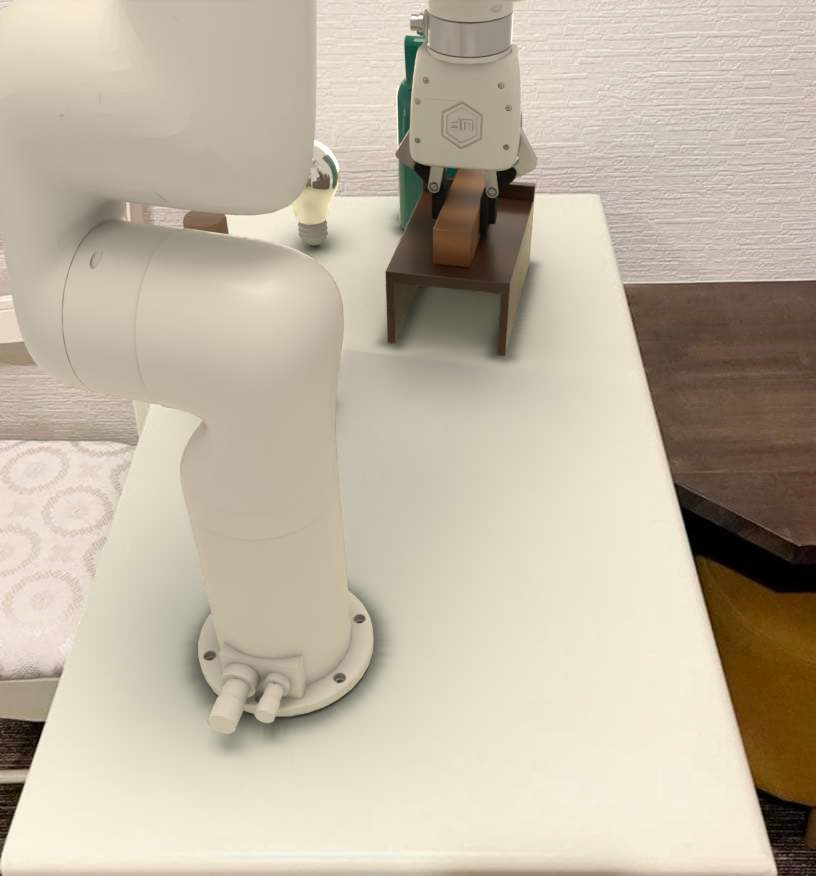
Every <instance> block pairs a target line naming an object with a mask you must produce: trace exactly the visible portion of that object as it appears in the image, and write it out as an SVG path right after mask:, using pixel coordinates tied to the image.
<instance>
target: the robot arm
mask: <svg viewBox="0 0 816 876" xmlns="http://www.w3.org/2000/svg"><path fill="white" fill-rule="evenodd" d="M529 1H530V0H426V9H425V10H424V11H423V12H419V13H411V14H410V19H409V28H410V29H409V30H410V31H411V32H416V31H419V33H423V37H425V42H424V43H423V44H422V45H421V46H420V47H419V48H418V51H417V55H416V60H415V67H414V75H413V85H412V97H411V115H410V129H409V131H408V133H407V134H406V136H405V137H404V139H403V141H402V142H401V144H400V146H399V147H398V146H397V150H396V151H395V158H396V159H397V160H398V159H399V160H400V161H401V162H403V163H404V164H406V165H407V166H409V167H410V168H413V169H414V171H415V172H416V173H417V174H418V175H419V176H420V177H421V179H422V180H423V181H424V182H425V183H426V184H427V185H428V189H429V191H430V192H432V219H438V217H439V214H440V212H441V209H442V207H443V205H444V203H445V201H446V198H447V196H448V193H449V191H450V183H449V180H447V178H446V177H445V175H446V169H447V168H458V169H471V170H483V171H484V180H485V187H484V190H483V193H482V196H481V199H480V231H479V234H481V235H482V236H486V235H487V232H488V229H489V226H490V224H495V223H496V219H497V205H498V193H499V192H500V191H502V190H503V189H504V188H505V187H506V186H508V185H509V184H510V183H511V182H512V181H515V179H517V178H519V177H522V176H524V175H527V174H528V173H530V172H533V171H534V170H536V168H537V164H538V160H539V159H538V157H537V155H536V153H535V151H534V149H533V146H532V144H531V143H530V141H529V138H528V137H527V135H526V133H525V131H524V129H523V76H522V66H521V56H520V50H519V47H518V45H516V44H515V43H513V29H514V15H515V13H514V12H515V3H522V2H523V3H524V2H529ZM317 9H318V0H12V1H11V2H10V3H9V4H8V5H7V6H6V7H5V8H4V9H3V10H2V12H1V14H0V238H1V243H2V249H3V255H4V260H5V266H6V271H7V279H8V284H9V289H10V293H11V294H10V295H11V299H12V305H13V310H14V314H15V319H16V322H17V326H18V329H19V333H20V336H21V338H22V341H23V343H24V346H25V349H26V350H27V353H29V355H30V358H31V359H32V360H33V362H34V363H35V364H36V365H37V367H38V368H39V369H40V370H41V371H42V372H43V373H44V374H45V375H46V376H48V377H50V378H51V379H52V380H54V381H56V382H58V383H60V384H62V385H64V386H68V387H71V388H73V389H77V390H81V391H84V392H89V393H94V394H99V395H105V396H110V397H115V398H120V399H126V400H130V401H131V400H132V401H137V402H140V403H141V402H142V403H148V404H151V405H153V404H154V405H158V406H161V407H163V408H166V409H172V410H178V411H182V412H185V413H189V414H192V415H194V416H196V417H198V418H199V419H201V420H202V421H201V422H200V424H199V425H198V426H197V427H196V429H195V430H194V432H192V434H191V436H190V437H189V439H188V441H187V443H186V445H185V447H184V449H183V452H182V455H181V460H180V465H179V479H180V486H181V487H180V488H181V491H182V496H183V500H184V504H185V507H186V511H187V516H188V519H189V524H190V528H191V532H192V536H193V541H194V545H195V549H196V554H197V558H198V562H199V566H200V571H201V575H202V580H203V582H204V588H205V592H206V596H207V601H208V605H209V609H210V613H209V615H208V616H207V617H206V619H205V621H204V623H203V625H202V628H200V633H199V637H198V642H197V658H198V661H199V665H200V669H201V672H202V675H203V677H204V680H205V682H206V683H207V684H208V686H209V687H210V688H211V691H212V692H213V693H214V694H215V695H217V697H216V700H215V702H214V704H213V706H212V709H211V710H210V713H209V715H208V718H207V719H206V721H207V724H208V726H209V727H210V728H211V729H212V730H214V731H216V732H217V733H220V734H224V735H229V734H231V735H232V734H233V733H235V732H236V729H237V727H238V724H239V722H240V720H241V718H242V715H243V713H244V712H246V713H249V714H252V715H254V717H255V719H256V720H257V721H259V722H261V723H264V724H271V723H274V721H275V719H276V718H278V717H279V718H281V717H294V716H300V715H305V714H309V713H311V712H314V711H318V710H321V709H323V708H325V707H327V706H329V705H331V704H333V703H335V702H337V701H338V700H340V699H342V697H343V696H345V695H346V694H347V693H349V692H350V691H351V690H352V689H354V688H355V686H356V685H357V684H358V683H359V682H360V680H361V679H362V678H363V676H364V674H365V673H366V671H367V669H368V668H369V666H370V663H371V660H372V656H373V654H374V643H375V642H374V641H375V639H374V628H373V623H372V620H371V616H370V613H369V612H368V610H367V608H366V607H365V605H364V603H363V602H362V601H361V600H360V599H359V598H358V597H357V596H356V595H355V594H354V593H353V592H351V591H350V590H349V586H348V583H349V582H348V573H347V572H348V571H347V561H346V549H345V536H344V524H343V511H342V501H341V499H342V498H341V489H340V477H339V476H340V475H339V463H338V451H337V397H338V395H337V394H338V385H339V376H340V375H339V374H340V369H341V359H342V350H343V343H344V333H345V331H344V329H345V314H344V303H343V302H344V301H343V298H342V297H343V296H342V294H341V291H340V289H339V286H338V284H337V282H336V280H335V279H334V277H333V275H332V274H331V273H330V272H329V270H327V269H326V268H325V266H324V265H323V264H321V263H320V262H318V260H316V259H314V258H313V257H312V256H309V255H308V254H306V253H304V252H302V251H300V250H299V249H296V248H293V247H290V246H288V245H284V244H281V243H277V242H275V241H270V240H265V239H261V238H256V237H250V236H243V235H237V234H230V233H229V234H223V233H216V232H209V231H202V230H196V229H189V228H186V229H184V228H179V227H173V226H172V227H171V226H164V225H158V224H153V223H152V224H151V223H144V222H136V221H129V220H128V212H127V211H128V210H127V209H128V207H127V203H131V204H138V205H146V206H153V207H161V208H168V209H175V210H176V209H177V210H184V211H189V212H190V211H199V212H207V213H215V214H225V215H229V216H260V215H266V214H273V213H276V212H278V211H281V210H283V209H285V208H287V207H289V206H292V205H291V204H292V203H293V202H294V201H295V200H296V199H297V198H298V197H299V196H300V195H301V193H302V192H303V190H304V188H305V186H306V184H307V181H308V178H309V175H310V170H311V165H312V159H313V154H314V143H315V141H316V127H317V88H318V87H317V85H318V84H317V82H318V81H317V73H318V70H317V69H318V67H317V65H318V64H317V63H318V62H317V59H318V58H317V57H318V56H317V55H318V54H317V53H318V52H317V51H318V48H317V47H318V21H317V20H318V13H317V12H318V10H317Z"/></svg>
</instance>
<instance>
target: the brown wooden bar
mask: <svg viewBox="0 0 816 876" xmlns="http://www.w3.org/2000/svg"><path fill="white" fill-rule="evenodd" d="M484 187H485V180H484V171H483V170H471V169H458V171H457V173H456V176H455V178H454V181H453V183H452V185H451V188H450V191H449V193H448V196H447V198H446V201H445V203H444V205H443V207H442V209H441V212H440V214H439V217H438V219H437V221H436V224H435V226H434V229H433V264H441V265H452V266H462V267H470V265H471V262H472V259H473V256H474V253H475V250H476V247H477V244H478V241H479V238H480V235H481V234H479V231H480V199H481V196H482V193H483V190H484Z"/></svg>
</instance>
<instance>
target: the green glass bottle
mask: <svg viewBox="0 0 816 876" xmlns="http://www.w3.org/2000/svg"><path fill="white" fill-rule="evenodd" d="M415 33H416V35H415V34H405V37H404V41H403V48H404V51H403V52H404V68H405V70H404V71H405V75H404V76H403V77H402V79H401V80H400V81H399V83H398V85H397V88H396V131H397V134H396V135H397V138H396V139H397V148H398V147H399V146H400V144H401V142H402V141H403V139H404V137H405V136H406V134H407V133H408V131H409V129H410V115H411V97H412V85H413V75H414V67H415V60H416V55H417V51H418V48H419V47H420V46H421V45H422V44H423V43H424V42H425V37H423V33H419V31H415ZM457 171H458V168H447V169H446V175H445V176H454V177H455V176H456V173H457ZM397 172H398V173H397V174H398V177H397V178H398V215H399V216H398V218H399V219H398V220H399V225H400V227H401V228H402V229H403V230H405V228H406V226H407V224H408V222H409V220H410V218H411V215H412V213H413V211H414V209H415V207H416V205H417V203H418V200H419V198H420V196H421V194H422V192H423V180H422V179H421V177H420V176H419V175H418V174H417V173H416V172H415V171H414V169H413V168H410V167H409V166H407V165H406V164H404V163H403V162H401V161H400V160H399V159H397Z"/></svg>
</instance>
